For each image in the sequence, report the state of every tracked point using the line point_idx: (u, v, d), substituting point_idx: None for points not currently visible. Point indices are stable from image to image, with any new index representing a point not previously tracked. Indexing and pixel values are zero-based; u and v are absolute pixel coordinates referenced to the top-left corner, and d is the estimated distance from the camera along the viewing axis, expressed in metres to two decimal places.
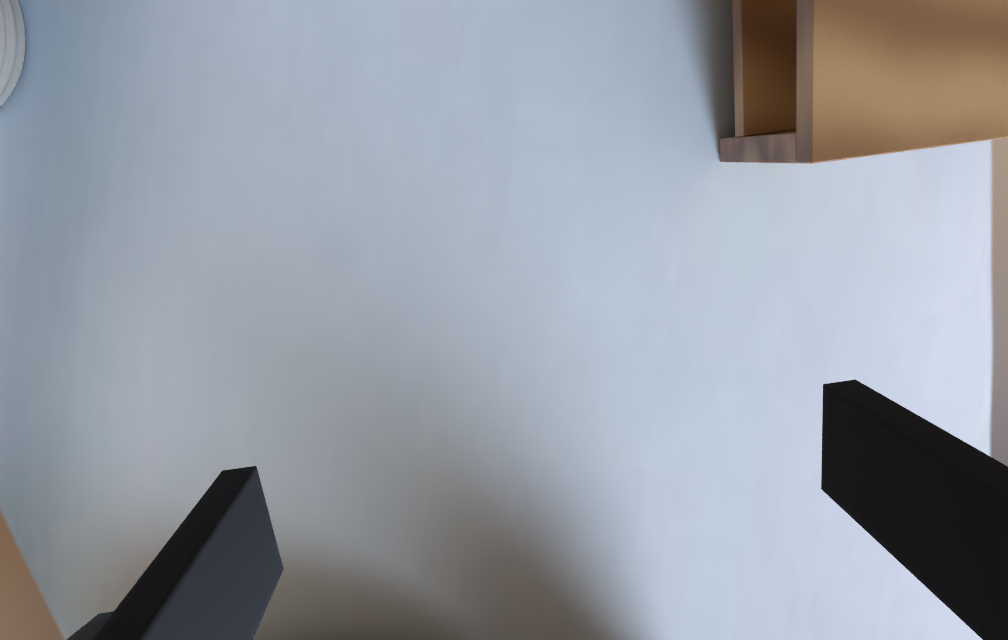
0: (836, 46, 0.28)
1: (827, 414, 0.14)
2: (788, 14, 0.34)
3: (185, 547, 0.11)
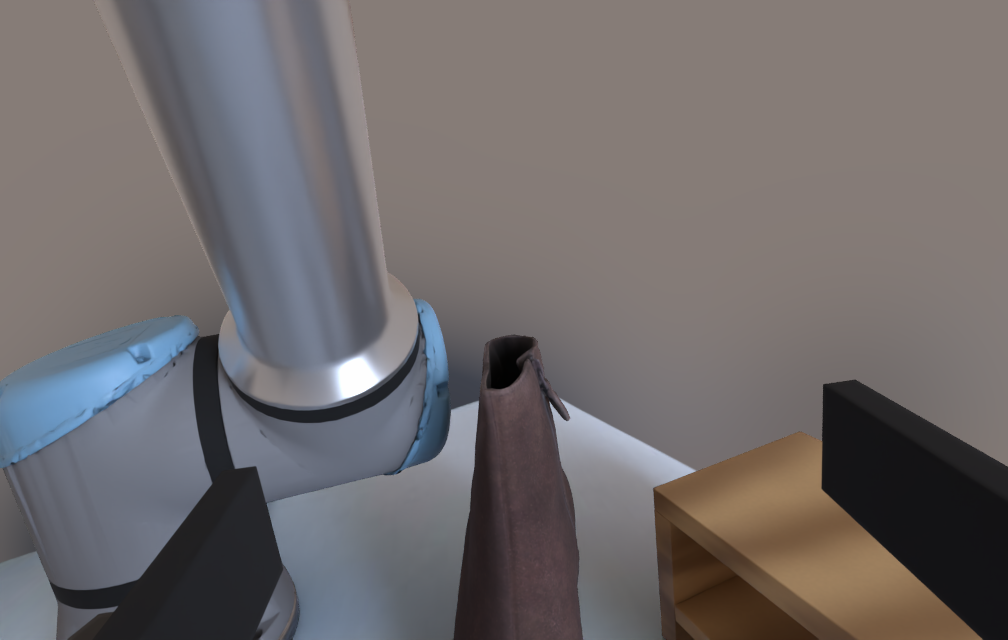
0: None
1: (827, 414, 0.14)
2: None
3: (185, 547, 0.11)
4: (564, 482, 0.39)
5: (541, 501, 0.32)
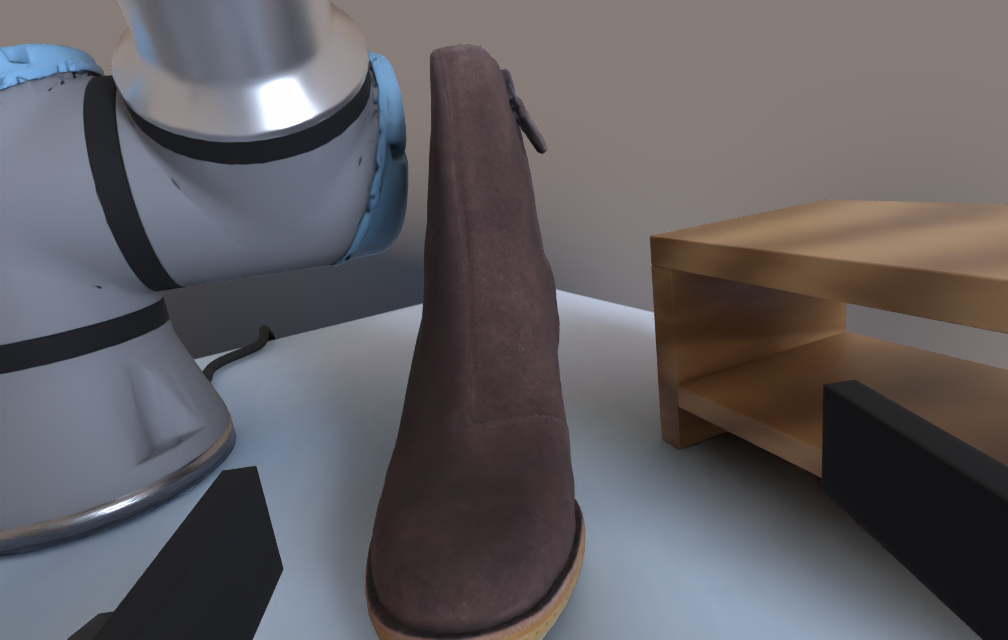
0: None
1: (827, 414, 0.14)
2: None
3: (185, 547, 0.11)
4: None
5: (508, 209, 0.25)
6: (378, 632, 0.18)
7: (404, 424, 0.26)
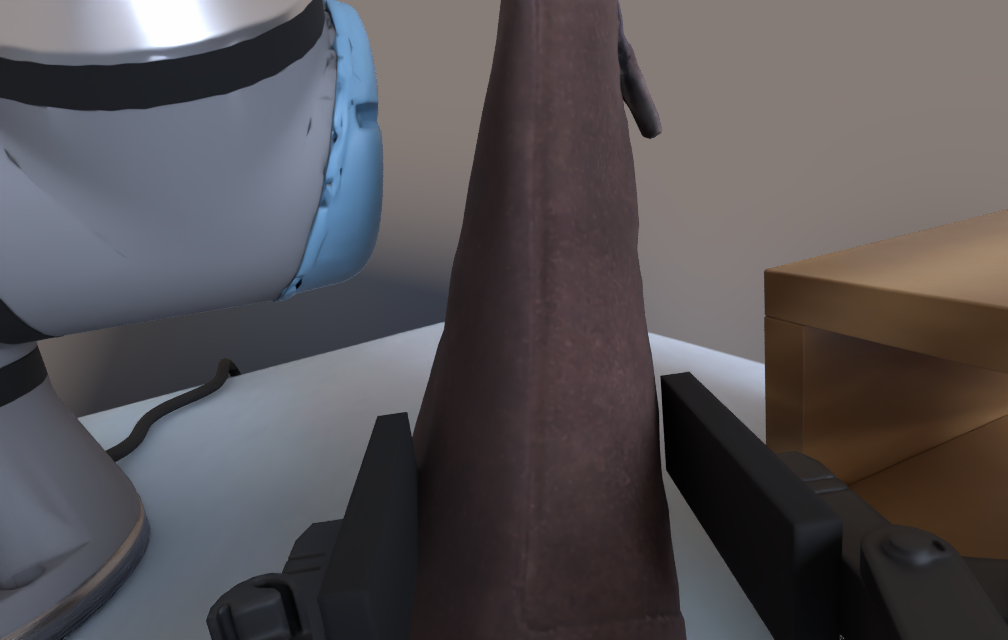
0: None
1: (664, 402, 0.15)
2: None
3: (380, 469, 0.12)
4: None
5: (615, 220, 0.14)
6: None
7: None
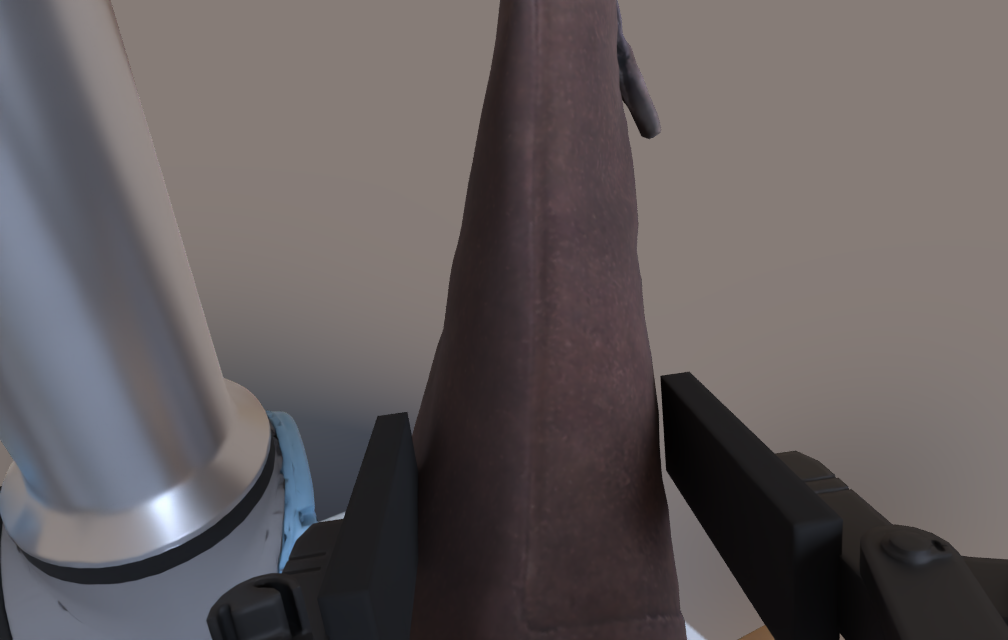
0: None
1: (664, 402, 0.15)
2: None
3: (380, 469, 0.12)
4: None
5: (614, 220, 0.14)
6: None
7: None
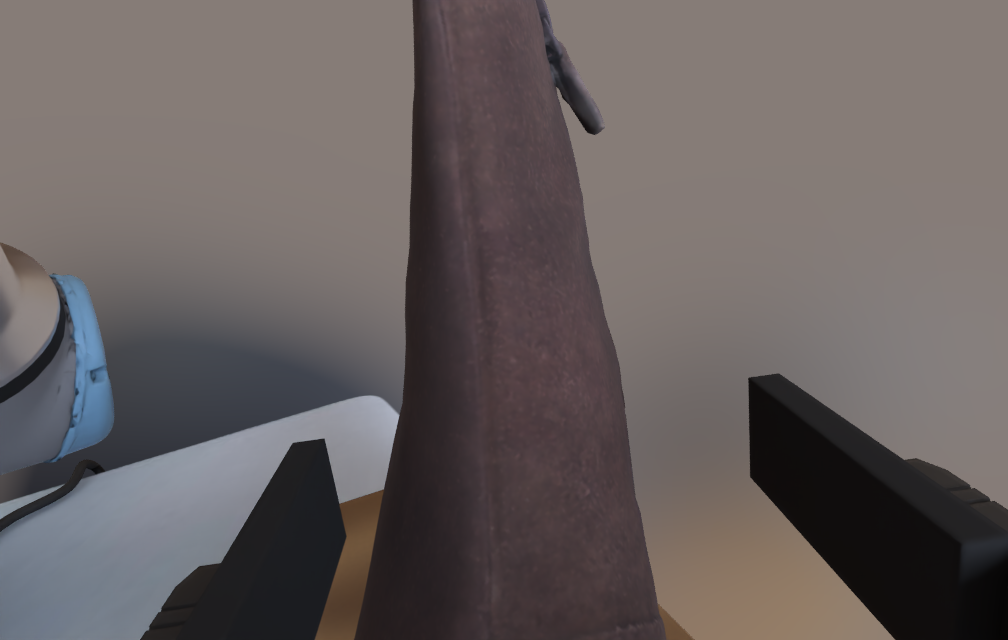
0: None
1: (752, 406, 0.15)
2: None
3: (275, 507, 0.12)
4: None
5: (552, 228, 0.14)
6: None
7: (369, 606, 0.15)
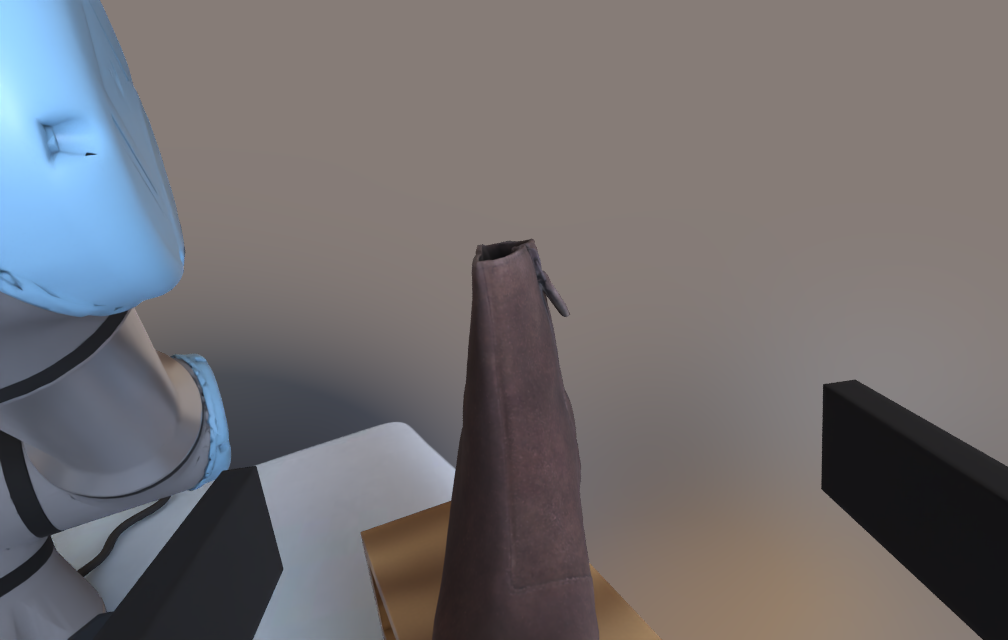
0: None
1: (827, 414, 0.14)
2: None
3: (185, 547, 0.11)
4: None
5: (539, 389, 0.29)
6: None
7: (449, 572, 0.30)
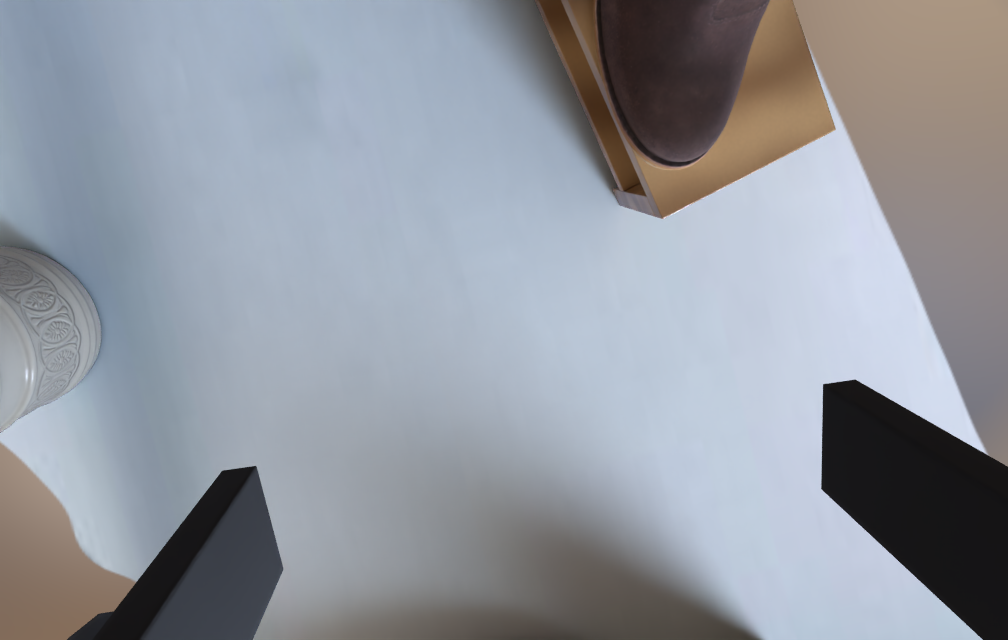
0: None
1: (827, 414, 0.14)
2: None
3: (185, 547, 0.11)
4: None
5: None
6: (630, 144, 0.35)
7: None
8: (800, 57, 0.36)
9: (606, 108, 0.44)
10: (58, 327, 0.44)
